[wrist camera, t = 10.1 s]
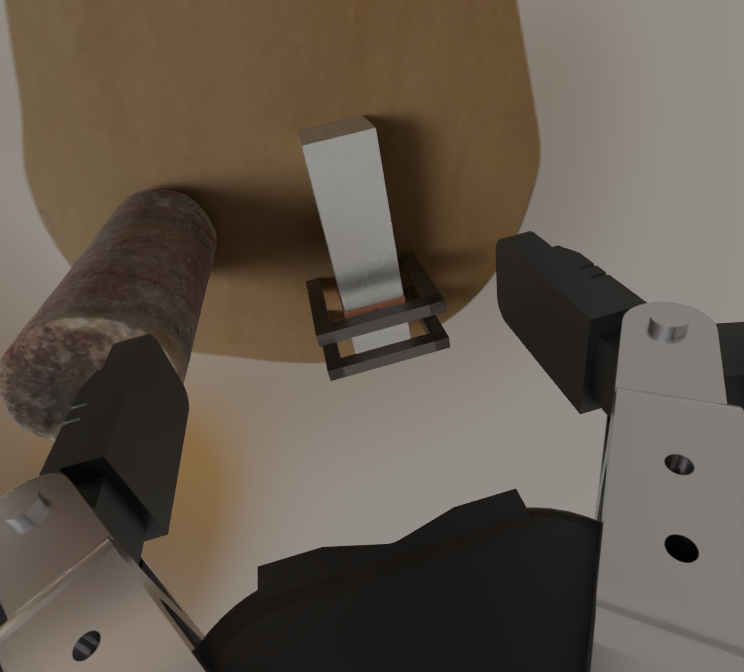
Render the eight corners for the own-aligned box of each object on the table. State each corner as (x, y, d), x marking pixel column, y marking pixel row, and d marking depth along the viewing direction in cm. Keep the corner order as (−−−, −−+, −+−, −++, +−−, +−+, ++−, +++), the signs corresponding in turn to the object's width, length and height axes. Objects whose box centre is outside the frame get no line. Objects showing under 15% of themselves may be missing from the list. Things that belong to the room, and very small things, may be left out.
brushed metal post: (295, 130, 35) (300, 146, 30) (363, 114, 35) (377, 128, 31) (346, 326, 45) (355, 358, 41) (398, 312, 45) (412, 342, 41)
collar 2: (316, 313, 43) (327, 371, 36) (418, 286, 44) (448, 337, 37) (318, 322, 44) (330, 380, 37) (419, 294, 45) (449, 347, 38)
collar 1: (306, 281, 41) (316, 336, 34) (413, 252, 42) (444, 300, 35) (308, 291, 42) (319, 346, 35) (414, 262, 43) (446, 311, 36)
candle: (93, 199, 34) (-53, 364, 18) (187, 166, 34) (126, 301, 18) (150, 285, 39) (74, 479, 23) (233, 256, 39) (217, 428, 23)
